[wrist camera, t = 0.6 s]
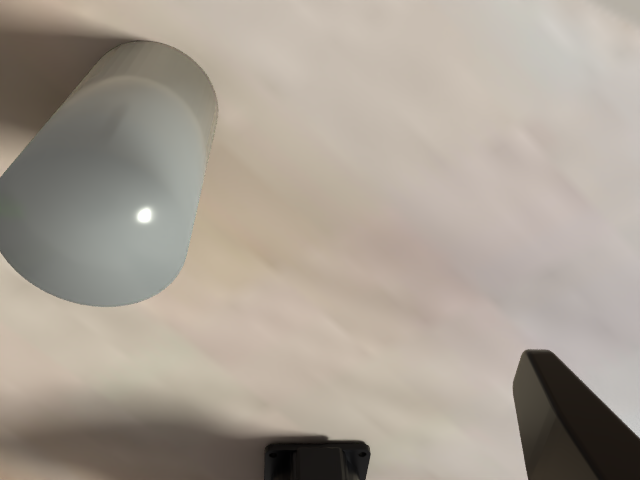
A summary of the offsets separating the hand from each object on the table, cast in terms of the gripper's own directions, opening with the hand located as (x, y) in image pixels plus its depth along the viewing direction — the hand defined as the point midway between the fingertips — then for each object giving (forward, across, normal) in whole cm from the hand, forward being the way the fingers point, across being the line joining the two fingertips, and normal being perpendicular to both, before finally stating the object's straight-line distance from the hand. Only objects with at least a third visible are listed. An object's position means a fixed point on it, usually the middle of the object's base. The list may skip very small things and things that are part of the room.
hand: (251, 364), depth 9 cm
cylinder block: (+14, +6, +2) cm, 16 cm away
